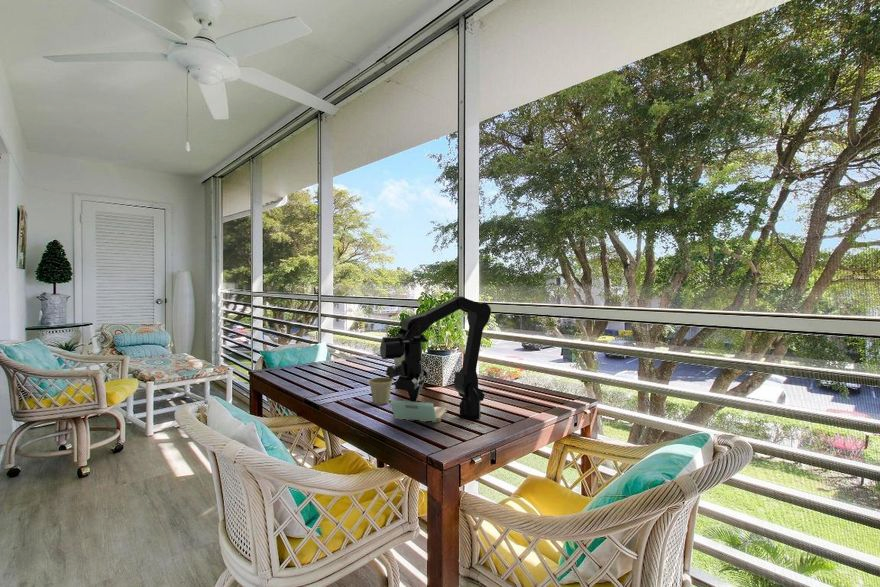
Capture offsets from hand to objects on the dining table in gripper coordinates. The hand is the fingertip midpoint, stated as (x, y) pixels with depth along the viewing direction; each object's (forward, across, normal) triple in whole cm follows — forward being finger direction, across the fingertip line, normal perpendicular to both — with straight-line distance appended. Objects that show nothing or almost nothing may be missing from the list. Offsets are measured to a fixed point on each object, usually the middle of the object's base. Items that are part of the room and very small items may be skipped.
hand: (413, 404), depth 136 cm
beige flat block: (+7, -10, 0) cm, 12 cm away
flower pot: (+7, -21, -20) cm, 30 cm away
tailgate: (+6, -3, 0) cm, 7 cm away
